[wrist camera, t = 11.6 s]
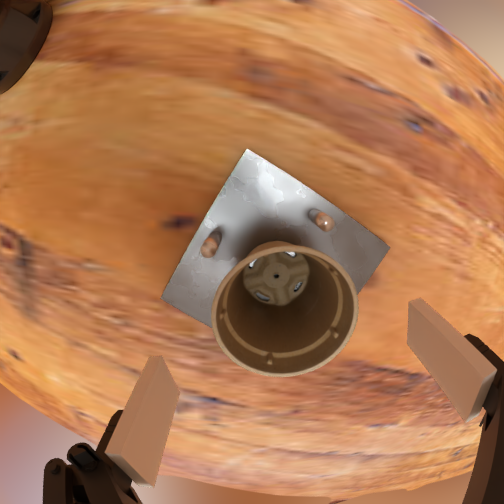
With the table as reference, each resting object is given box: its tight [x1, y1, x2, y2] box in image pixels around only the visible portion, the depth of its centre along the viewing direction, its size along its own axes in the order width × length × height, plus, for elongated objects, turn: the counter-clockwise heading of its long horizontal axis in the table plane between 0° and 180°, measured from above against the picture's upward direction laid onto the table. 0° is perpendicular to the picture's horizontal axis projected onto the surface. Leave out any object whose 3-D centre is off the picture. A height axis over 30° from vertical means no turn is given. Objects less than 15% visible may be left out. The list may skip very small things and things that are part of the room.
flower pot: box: [211, 241, 359, 377], centre depth 21 cm, size 9×9×9 cm
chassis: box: [160, 149, 390, 328], centre depth 24 cm, size 16×16×5 cm
